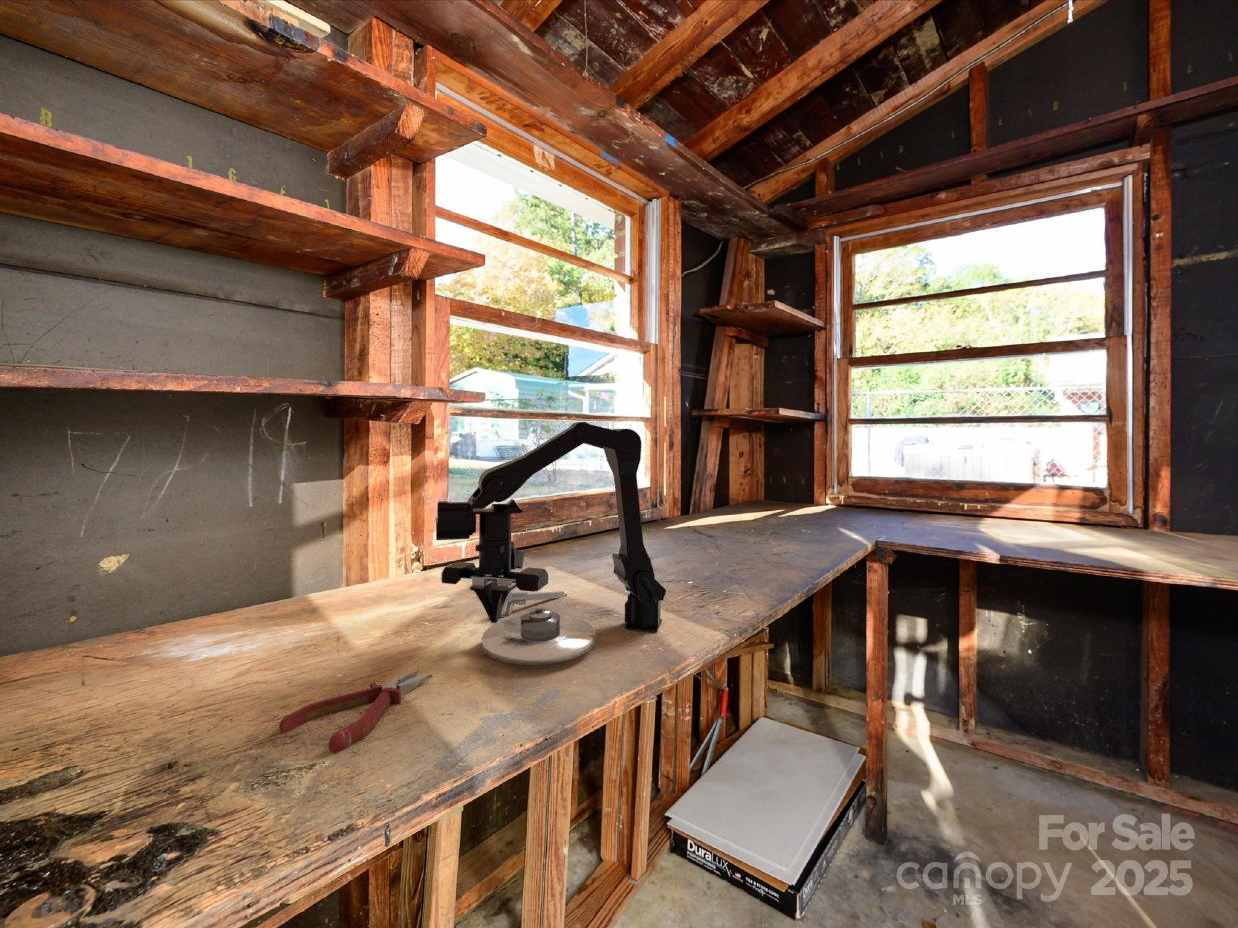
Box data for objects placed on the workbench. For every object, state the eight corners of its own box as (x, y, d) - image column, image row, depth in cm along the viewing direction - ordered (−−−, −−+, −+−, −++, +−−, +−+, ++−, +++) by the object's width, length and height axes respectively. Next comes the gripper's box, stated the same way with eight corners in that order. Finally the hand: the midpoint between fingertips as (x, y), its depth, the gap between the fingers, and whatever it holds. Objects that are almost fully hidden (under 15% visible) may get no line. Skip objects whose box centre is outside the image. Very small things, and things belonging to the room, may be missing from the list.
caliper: (502, 619, 112) (501, 589, 112) (498, 618, 113) (498, 589, 113) (567, 596, 129) (567, 570, 128) (564, 595, 129) (564, 569, 129)
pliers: (453, 688, 83) (453, 671, 83) (336, 759, 65) (335, 738, 64) (399, 673, 88) (398, 658, 87) (275, 736, 69) (274, 716, 69)
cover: (565, 628, 99) (565, 606, 99) (551, 643, 93) (551, 618, 92) (530, 625, 101) (530, 602, 101) (514, 639, 94) (513, 615, 94)
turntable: (607, 626, 104) (607, 619, 104) (575, 670, 85) (575, 662, 85) (511, 617, 109) (511, 610, 109) (460, 657, 90) (460, 648, 90)
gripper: (559, 533, 104) (557, 613, 104) (470, 527, 108) (470, 604, 109) (537, 544, 93) (536, 633, 94) (439, 537, 97) (439, 622, 98)
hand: (494, 622), depth 99 cm, fingers closed
